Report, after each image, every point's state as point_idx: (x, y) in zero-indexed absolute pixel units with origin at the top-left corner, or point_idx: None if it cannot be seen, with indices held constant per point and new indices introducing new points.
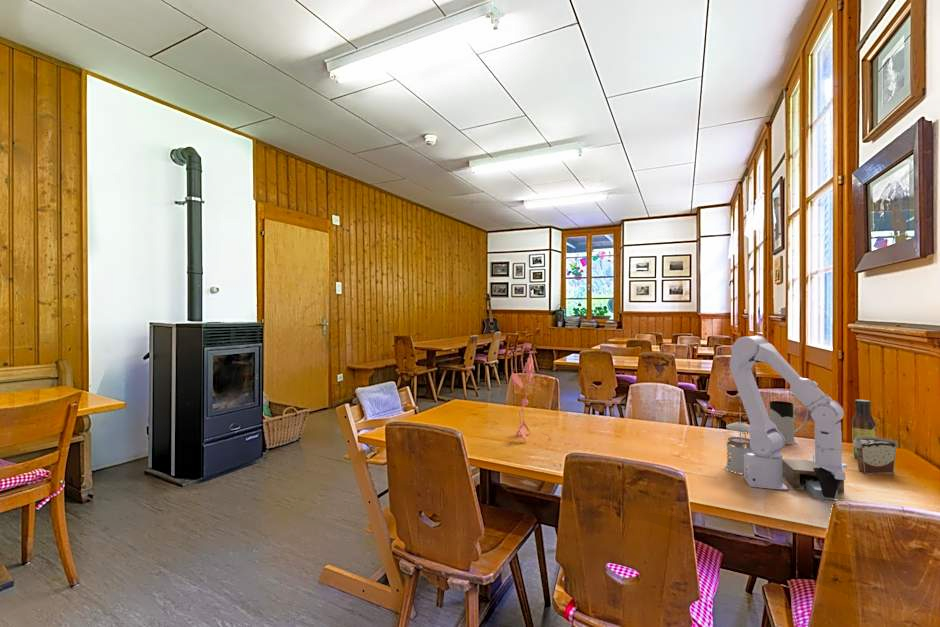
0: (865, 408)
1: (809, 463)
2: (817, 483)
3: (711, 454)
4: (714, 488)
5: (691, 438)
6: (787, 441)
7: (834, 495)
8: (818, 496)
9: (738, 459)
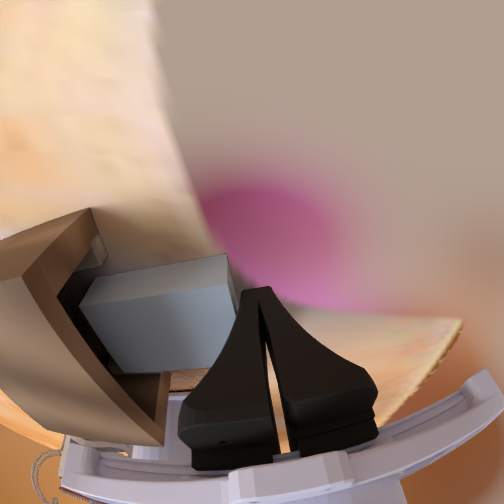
0: None
1: (10, 381)
2: (135, 345)
3: (53, 433)
4: (282, 453)
5: (6, 424)
6: None
7: (274, 294)
8: None
9: None
